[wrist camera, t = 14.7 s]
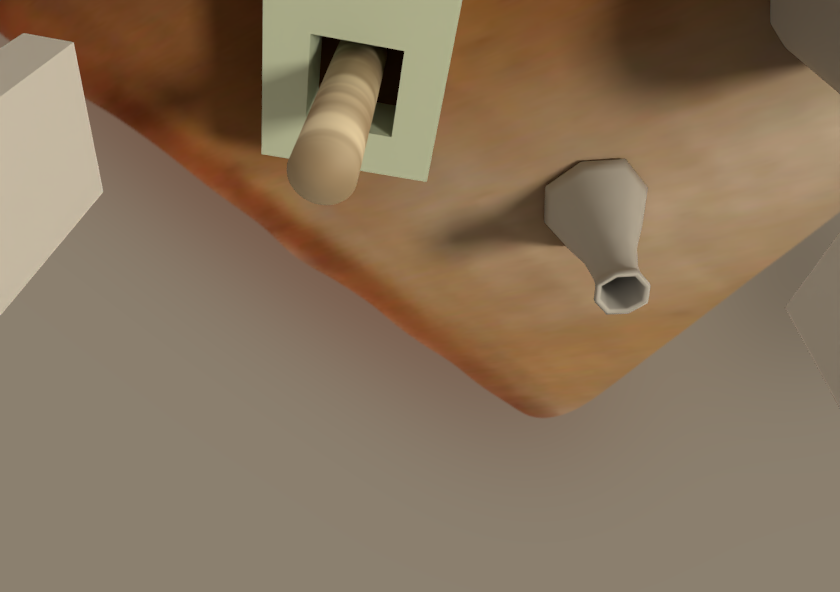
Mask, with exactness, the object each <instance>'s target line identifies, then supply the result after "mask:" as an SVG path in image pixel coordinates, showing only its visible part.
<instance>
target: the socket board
mask: <svg viewBox="0 0 840 592" xmlns="http://www.w3.org/2000/svg"><path fill="white" fill-rule="evenodd" d="M461 4H462V0H263V44H262V154H265V155H271V156H277V157H283V158H290V155H291V153H292V151H293V148H294V146H295V144H296V141H297V139H298V137H299V134H300V132H301V130H302V127H303V125H304V123H305V120H306V118H307V116H308V113H309V111H310V109H311V106H312V104H313V102H314V99H315V97H316V95H317V93H318V90H319V79H320V64H321V49H322V36H325V37H331V38H336V39H342V40H347V41H352V42H358V43H363V44H369V45H374V46H380V47H385V48H391V49H396V50H401V51H404V57H403V64H402V70H401V77H400V84H399V91H398V97H397V104H396V106H395V105H390V104H384V103H378V102H376V106H375V110H374V115H373V119H372V123H371V127H370V131H369V135H368V140H367V144H366V148H365V152H364V156H363V160H362V165H361V169H360V171H365V172H371V173H377V174H383V175H389V176H395V177H401V178H407V179H412V180H418V181H424V182H427V178H428V173H429V168H430V162H431V157H432V152H433V147H434V142H435V137H436V132H437V127H438V122H439V116H440V111H441V106H442V101H443V96H444V91H445V86H446V81H447V76H448V70H449V65H450V60H451V55H452V50H453V45H454V40H455V35H456V30H457V24H458V19H459V14H460V9H461Z"/></svg>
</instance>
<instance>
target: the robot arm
mask: <svg viewBox="0 0 840 592" xmlns="http://www.w3.org/2000/svg"><path fill="white" fill-rule="evenodd" d="M102 193H103V188H102V183H101V178H100V173H99V168H98V163H97V158H96V153H95V148H94V143H93V138H92V133H91V128H90V123H89V118H88V113H87V108H86V102H85V97H84V92H83V87H82V82H81V77H80V72H79V67H78V62H77V57H76V52H75V47H74V42H70V41H64V40H59V39H53V38H47V37H42V36H36V35H31V34H25V33H23V34H21V35H20V36H18V37H17V38H15V39H14V40H12V41H11V42H9V43H8V44H6V45H4V46H3V47H1V48H0V315H1V314H2V313H3V312H4V310H5V309H6V308H7V307H8V306H9V304H10V303H11V302H12V301H13V300H14V298H15V297H16V296H17V295H18V294H19V292H20V291H21V290H22V289H23V288H24V286H25V285H26V284H27V283H28V282H29V280H30V279H31V278H32V277H33V276H34V274H35V273H36V272H37V271H38V270H39V268H40V267H41V266H42V265H43V264H44V262H45V261H46V260H47V258H49V256H50V255H51V254H52V253H53V251H54V250H55V249H56V248H57V247H58V245H59V244H60V243H61V242H62V241H63V239H64V238H65V237H66V236H67V235H68V233H69V232H70V231H71V230H72V229H73V227H74V226H75V225H76V224H77V223H78V222H79V220H80V219H81V218H82V217H83V216H84V214H85V213H86V212H87V211H88V210H89V208H90V207H91V206H92V205H93V204H94V202H95V201H96V200H97V199H98V198H99V196H100V195H101V194H102ZM785 309H786V311H787V312H788V314H789V316H790V318H791V320H792V322H793V324H794V325H795V327H796V329H797V331H798V333H799V334H800V336H801V338H802V340H803V342H804V344H805V346H806V347H807V349H808V351H809V353H810V355H811V357H812V358H813V360H814V362H815V364H816V366H817V368H818V370H819V371H820V373H821V375H822V377H823V379H824V381H825V382H826V384H827V386H828V388H829V390H830V392H831V394H832V396H833V397H834V399H835V401H836V403H837V405H838V407H839V408H840V233H839V234H838V235H837V236H836V238H835V239H834V241H833V242H832V244H831V245H830V246H829V248H828V249H827V250H826V252H825V253H824V254H823V256H822V257H821V258H820V260H819V261H818V262H817V264H816V265H815V267H814V268H813V269H812V271H811V272H810V274H809V275H808V276H807V278H806V279H805V280H804V282H803V283H802V285H801V286H800V287H799V289H798V290H797V291H796V293H795V294H794V295H793V297H792V298H791V300H790V301H789V302H788V304H787V305H786V307H785Z"/></svg>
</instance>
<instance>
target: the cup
mask: <svg viewBox="0 0 840 592" xmlns="http://www.w3.org/2000/svg"><path fill="white" fill-rule="evenodd" d="M770 24H771V25H772V27H773V29H774V30H775V32H776V33H777V35H778V37H779V38H780V40H781V42H782V43H783V45H784V46H785V48H786V49H787V50H789V51H790V52H791V53H792V54H793V55H795V56H796V57H797V58H798V59H799V60H800V61H802V62H803V63H804V64H805V65H806V66H808V67H809V68H810V69H811V70H812V71H813V72H815V73H816V74H817V75H818V76H819V77H821V78H822V79H823V80H824V81H825V82H826V83H828V84H829V85H830V86H831V87H832V88H834V89H835V90H836V91H837V92H838V93H839V94H840V0H770Z"/></svg>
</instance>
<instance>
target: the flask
mask: <svg viewBox="0 0 840 592" xmlns="http://www.w3.org/2000/svg"><path fill="white" fill-rule="evenodd" d="M647 191H648V187H647V186H646V185H645V183H644V182H643V181H642V179H641V178H640V177H639V176H638V174H637V173H636V172H635V170H634V169H633V168H632V167H631V165H630V164H629V163H628V161H627V160H626V159H615V160H599V161H583V162H580V163H578V164H577V165H575V166H574V167H573V168H571V169H570V170H568V171H567V172H565V173H564V174H563V175H561V176H560V177H558V178H557V179H555V180H554V181H552V182H551V183H550V184H548V185H547V186H545V208H544V222H545V224H546V225H547V226H548V227H549V228H550V229H551V230H552V231H553V232H554V233H555V235H556V236H557V237H558V238H559V239H560V240H561V241H562V242H563V243H564V244H565V245H566V247H567V248H568V249H569V250H570V251H571V252H572V253H574V254H575V255H576V256H577V257H578V258H579V259H580V260H581V261H582V262H583V263H584V264H585V265H586V267H587V268H588V270H589V272H590V274H591V275H592V277H593V279H594V282H595V294H594V301H595V303H596V304H597V305H598V306H599V307H600V308H601V309H602V310H603V311H604V312H605V313H606V314H628V313H630V312H632V311H634V310H636V309H638V308H639V307H641V306H643V305H645V304H647V303H648V298H649V292H650V283H649V282H648V281H647V280H646V278H645V277H644V276H643V275H642V274H641V273H640V271H639V268H638V258H637V245H638V241H639V237H640V233H641V230H642V224H643V218H644V211H645V204H646V198H647Z"/></svg>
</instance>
